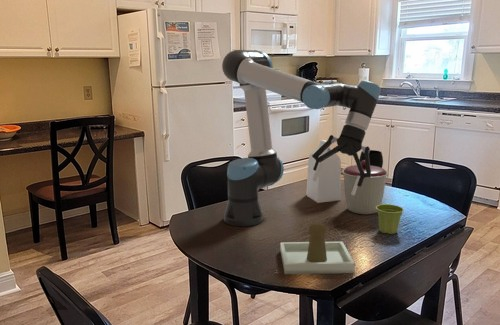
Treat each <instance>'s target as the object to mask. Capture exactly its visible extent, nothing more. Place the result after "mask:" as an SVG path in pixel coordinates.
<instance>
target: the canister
mask: <svg viewBox="0 0 500 325" xmlns="http://www.w3.org/2000/svg"><path fill="white" fill-rule="evenodd" d="M361 165H362V168H363V170H364V173H366V165H365V160H363V161H362V162H361ZM370 168H371V177H366V178H364V181H363V183H362V186H361V187H360V186H358V187H357V190H356V193H355V195H351V193H352V190H353V187H354V185H355V182H356V179H357V177H358V176H361V175H360V172H359V170H358V167H357V164H355V165H349V166H346V167H344V168H343V169H341V174H343V186H344V197H345V205H346V208H347V209H348V210H349V211H350V212H351V213H355V214H359V215H372V214H376V213H377V209H376V206H378V205H381V204H382V203H383V199H384V198H383V197H384V193H385V192H384V191H385V188H386V180H387V176H388V175H389V171H388V170H385V169H384V168H383V167H382V168H380V167H377V166H371V165H370Z"/></svg>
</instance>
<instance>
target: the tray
mask: <svg viewBox="0 0 500 325" xmlns="http://www.w3.org/2000/svg"><path fill="white" fill-rule="evenodd" d="M279 243H280V248H279V251H280V257H281V262H282V266H283V272H284V275H303V274H304V275H310V274H311V275H312V274H313V275H315V274H320V275H322V274H323V275H324V274H326V275H327V274H355V269H356V268H355V265H356V264H355V261H354V260H353V257H352V256H351V253H350V252H349V251H348V249H347V247H346V245H345V244H344V241H325V247H326V256H327V261H326V262H313V263H312V262H309V261H308V260H307V254H308V247H309V241H297V242H296V241H293V242H292V241H291V242H289V241H287V242H283V241H282V242H279Z"/></svg>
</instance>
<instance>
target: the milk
mask: <svg viewBox="0 0 500 325" xmlns="http://www.w3.org/2000/svg"><path fill="white" fill-rule="evenodd" d="M327 141H328V140H325V139H320V141H319V145H318V146H317V147H316V148H315V149H314V150H313V151H312V152H311V153H310V154H309V157H308V164H307V165H308V166H307V177H306V178H307V179H306V193H305V195H307V197H308V198H310V199H311V200H312V201H314V202H316V203H318V204H319V203H326V202H335V201H342V161H341V160H342V159H341V158H340V157H339V156H338V154H337V153H335V154H333V155H332V156H330V157H328V158H327V159H325V160H323V161H322V162H321V163H322V167H321V170H320V172H319V175H318V178H317V181H313V180H312V179H313V177H314V174H315V170H313V168H314V166H315V163H316V160H315V159H314V158H313V157H312V155H313V154H314V153H315V152H316V151H317V150H318V149H319V148H320V147H321V146H322V145H323V144H324V143H325V142H327ZM332 149H333V148H332V147H331V145H330V146H329V147H328V148H327V149H326V150H325V151H324V152H323V153H322V154H321V155H320V156H322V155H323V154H325V153H327V152H328V151H330V150H332ZM320 156H319V157H320Z"/></svg>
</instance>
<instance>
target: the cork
mask: <svg viewBox="0 0 500 325" xmlns="http://www.w3.org/2000/svg"><path fill="white" fill-rule="evenodd" d="M308 234H309V235H310V236H309V241H308V242H309V247H308V254H307V260H308V261H309V262H312V263H313V262H326V261H327V256H326V247H325V242H326V239H325V236H326V234H327V227H326V226H325V224H323V223H319V222H315V223H314V222H313V223H311V224H310V225H309V227H308Z"/></svg>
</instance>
